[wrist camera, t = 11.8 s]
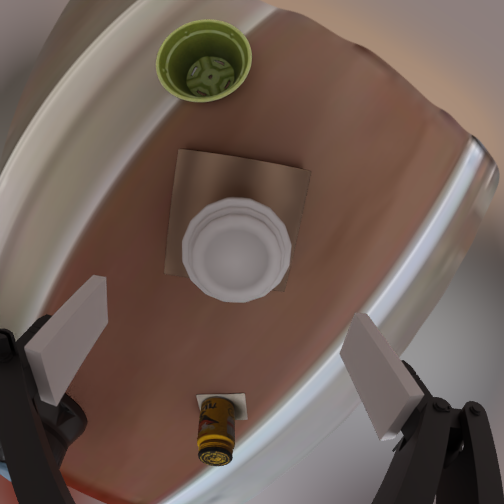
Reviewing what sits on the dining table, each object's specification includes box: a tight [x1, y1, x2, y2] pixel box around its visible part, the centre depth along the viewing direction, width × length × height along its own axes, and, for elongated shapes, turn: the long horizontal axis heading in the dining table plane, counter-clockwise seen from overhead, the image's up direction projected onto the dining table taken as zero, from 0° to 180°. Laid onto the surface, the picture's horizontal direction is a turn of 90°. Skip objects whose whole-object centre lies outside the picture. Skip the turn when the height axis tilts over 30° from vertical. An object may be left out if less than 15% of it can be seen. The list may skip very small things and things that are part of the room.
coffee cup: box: [182, 197, 292, 303], centre depth 29 cm, size 9×9×12 cm
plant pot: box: [156, 19, 252, 102], centre depth 28 cm, size 9×9×9 cm
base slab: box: [164, 149, 311, 292], centre depth 36 cm, size 15×15×4 cm
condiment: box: [196, 393, 247, 466], centre depth 43 cm, size 7×8×12 cm
